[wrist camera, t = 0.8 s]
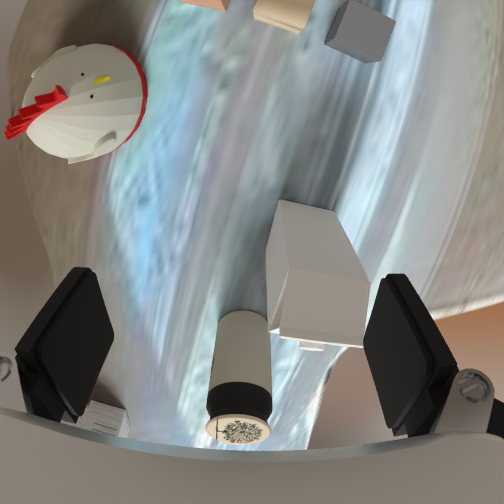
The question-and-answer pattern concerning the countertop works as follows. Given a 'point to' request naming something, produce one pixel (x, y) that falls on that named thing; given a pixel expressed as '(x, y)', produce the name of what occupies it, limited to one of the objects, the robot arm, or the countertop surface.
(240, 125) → the countertop surface
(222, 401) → the travel mug
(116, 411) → the supplement box
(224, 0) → the terracotta block
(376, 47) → the charcoal block
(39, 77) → the kitchen timer
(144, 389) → the countertop surface
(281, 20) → the maple block
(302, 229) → the milk carton
